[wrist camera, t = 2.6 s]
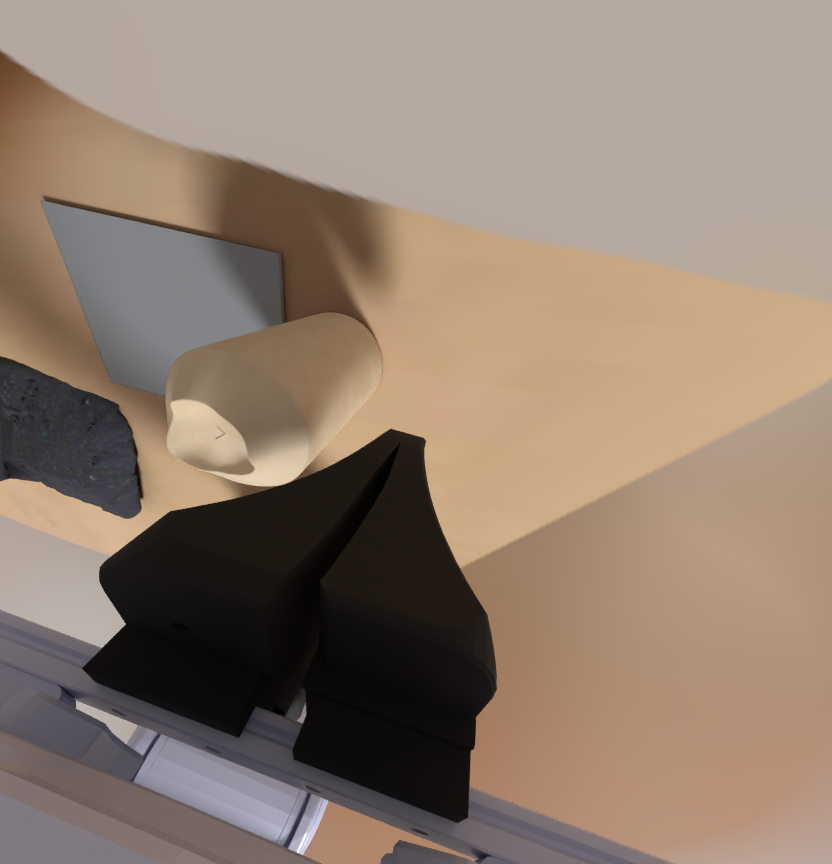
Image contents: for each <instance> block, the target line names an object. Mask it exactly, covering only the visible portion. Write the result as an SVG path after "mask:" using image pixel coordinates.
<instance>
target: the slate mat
mask: <svg viewBox="0 0 832 864" xmlns="http://www.w3.org/2000/svg"><path fill="white" fill-rule="evenodd" d="M40 201H41V204H42V207H43V209H44V212H45V214H46V217H47V219H48V222H49V224H50V227H51V230H52V232H53V235H54V237H55V240H56V242H57V245H58V247H59V250H60V253H61V255H62V258H63V260H64V263H65V265H66V268H67V271H68V273H69V276H70V278H71V281H72V283H73V286H74V288H75V291H76V294H77V296H78V299H79V301H80V304H81V306H82V309H83V311H84V314H85V317H86V319H87V322H88V324H89V327H90V329H91V332H92V335H93V337H94V340H95V342H96V345H97V347H98V350H99V352H100V355H101V358H102V360H103V363H104V365H105V368H106V370H107V373H108V375H109V378H110V381H111V382H113V383H117V384H120V385H124V386H127V387H131V388H135V389H138V390H142V391H145V392H149V393H152V394H156V395H160V396H163V397H166V385H167V379H168V374H169V371H170V368H171V366H172V365H173V363H174V362H175V360H176V359H177V358H178V357H179V356H181V355H182V354H184V353H185V352H187V351H189V350H192V349H195V348H198V347H202V346H205V345H209V344H212V343H216V342H219V341H223V340H226V339H230V338H233V337H237V336H241V335H244V334H248V333H251V332H255V331H258V330H262V329H265V328H269V327H273V326H276V325H280V324H283V323H285V310H284V291H283V272H282V253H277V252H273V251H268V250H264V249H259V248H255V247H250V246H246V245H241V244H237V243H232V242H228V241H223V240H219V239H214V238H210V237H205V236H201V235H196V234H192V233H187V232H183V231H178V230H174V229H169V228H165V227H160V226H156V225H151V224H147V223H142V222H138V221H133V220H129V219H124V218H120V217H115V216H111V215H106V214H102V213H97V212H93V211H88V210H84V209H79V208H75V207H70V206H66V205H62V204H57V203H53V202H48V201H42V200H40Z"/></svg>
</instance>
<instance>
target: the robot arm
mask: <svg viewBox="0 0 832 864" xmlns="http://www.w3.org/2000/svg"><path fill="white" fill-rule="evenodd" d="M425 443H426V441H425V439H424V438H422V437H418V436H415V435H411V434H407V433H404V432H400V431H396V430H393V429H390V430H388V431H386V432H385V433H383V434H382V435H381V436H379V437H378V438H376V439H375V440H373V441H372V442H370V443H369V444H367V445H366V446H364V447H363V448H361V449H359V450H358V451H356V452H355V453H353V454H351V455H349V456H348V457H346V458H344V459H342V460H340V461H339V462H337V463H335V464H333V465H331V466H329V467H327V468H325V469H323V470H321V471H318V472H316V473H314V474H311V475H309V476H306V477H304V478H301V479H298V480H296V481H293V482H290V483H287V484H284V485H281V486H278V487H275V488H272V489H269V490H265V491H262V492H258V493H255V494H251V495H247V496H243V497H239V498H235V499H231V500H227V501H222V502H217V503H212V504H207V505H202V506H197V507H192V508H186V509H181V510H175V511H170V512H169V513H167V514H166V515H165V516H163V517H162V518H161V519H159V520H158V521H157V522H155V523H154V524H153V525H151V526H150V527H149V528H148V529H146V530H145V531H144V532H142V533H141V534H140V535H138V536H137V537H136V538H135V539H133V540H132V541H131V542H129V543H128V544H127V545H125V546H124V547H123V548H122V549H120V550H119V551H118V552H116V553H115V554H114V555H112V556H111V557H110V558H109V559H107V560H106V561H105V562H104V563H103V564H102V566H101V567H100V571H99V580H100V584H101V586H102V588H103V589H104V591H105V593H106V594H107V596H108V598H109V599H110V601H111V602H112V603H113V605H114V606H115V608H116V610H117V611H118V613H119V614H120V615H121V617H122V619H123V620H124V622H125V623H126V625H125V626H124V627H123V628H122V629H121V630H120V631H119V632H118V633H117V634H116V635H115V636H114V637H113V638H112V639H111V640H110V641H109V642H108V643H107V644H106V645H105V646H104V647H103V648H100V647H97V646H95V645H92V644H89V643H87V642H84V641H82V640H79V639H76V638H74V637H71V636H68V635H65V634H63V633H60V632H58V631H55V630H52V629H50V628H47V627H44V626H41V625H39V624H36V623H34V622H31V621H28V620H26V619H23V618H20V617H18V616H15V615H12V614H10V613H7V612H4V611H2V610H0V864H321V863H319V862H317V861H315V860H312V859H310V858H308V857H305V856H303V854H304V852H305V850H306V848H307V847H308V845H309V843H310V842H311V840H312V838H313V836H314V834H315V832H316V830H317V828H318V825H319V823H320V821H321V818H322V816H323V813H324V811H325V808H326V806H327V803H328V801H331V802H333V803H336V804H338V805H341V806H344V807H346V808H349V809H351V810H354V811H356V812H359V813H361V814H364V815H366V816H369V817H371V818H374V819H376V820H379V821H381V822H384V823H386V824H389V825H391V826H394V827H396V828H399V829H402V830H404V831H406V832H409V833H412V834H414V835H416V836H419V837H421V838H424V839H427V840H429V841H432V842H434V843H437V844H439V845H442V846H444V847H447V848H449V849H452V850H454V851H457V852H459V853H462V854H464V855H467V856H469V857H472V858H474V859H477V860H476V861H472V860H469V859H466V858H463V857H460V856H456V855H453V854H449V853H445V852H442V851H438V850H434V849H431V848H427V847H423V846H420V845H416V844H412V843H408V842H405V841H401V840H399V842H397V843H396V845H395V846H394V849H393V853H388V854H385V855H384V856H383V858H382V859H381V864H674V863H671V862H669V861H666V860H664V859H661V858H658V857H656V856H653V855H651V854H648V853H645V852H643V851H639V850H637V849H635V848H632V847H629V846H626V845H624V844H621V843H619V842H616V841H613V840H611V839H608V838H605V837H603V836H600V835H597V834H595V833H592V832H589V831H587V830H584V829H581V828H579V827H576V826H573V825H571V824H568V823H565V822H563V821H560V820H557V819H555V818H552V817H549V816H547V815H544V814H542V813H539V812H536V811H533V810H530V809H528V808H526V807H523V806H520V805H517V804H515V803H512V802H510V801H507V800H504V799H502V798H499V797H496V796H493V795H491V794H488V793H486V792H483V791H480V790H478V789H475V788H472V787H470V786H469V781H470V753H471V750H473V749H474V746H475V733H476V717H477V715H478V714H479V713H480V712H481V711H482V710H483V708H484V707H485V706H486V705H487V704H488V703H489V701H490V700H491V699H492V698H493V696H494V694H495V692H496V690H497V688H496V687H497V685H496V678H497V675H496V663H495V655H494V648H493V642H492V636H491V630H490V626H489V621H488V616H487V613H486V612H485V610H484V609H483V607H482V605H481V604H480V602H479V601H478V599H477V597H476V596H475V594H474V592H473V591H472V589H471V587H470V586H469V584H468V582H467V581H466V579H465V577H464V575H463V573H462V572H461V569H460V568H459V566H458V564H457V562H456V560H455V558H454V556H453V554H452V551H451V549H450V547H449V545H448V543H447V541H446V538H445V536H444V534H443V532H442V529H441V527H440V524H439V521H438V519H437V516H436V513H435V510H434V507H433V503H432V500H431V496H430V492H429V487H428V483H427V477H426V470H425V461H424V447H425ZM75 700H77V701H79V702H82V703H84V704H87V705H89V706H92V707H94V708H97V709H99V710H102V711H104V712H107V713H109V714H112V715H114V716H117V717H120V718H122V719H124V720H127V721H129V722H132V723H135V724H137V725H138V727H137V728H136V730H135V731H134V733H133V735H132V736H131V738H130V739H129V741H128V743H127V744H125V743H124V742H122V741H121V740H120V739H119V738H117V737H116V736H115V735H114V734H113V733H112V732H111V731H110V730H109V728H108V727H107V726H106V724H105V723H103V722H101V721H99V720H97V719H95V718H93V717H91V716H89V715H87V714H85V713H83V712H81V711H79V710H77V709H75V708H76V701H75Z"/></svg>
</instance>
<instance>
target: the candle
mask: <svg viewBox="0 0 832 864" xmlns="http://www.w3.org/2000/svg"><path fill="white" fill-rule="evenodd" d="M382 371H383V361H382V355H381V351H380V348H379V345H378V343H377V341H376V340H375V338H374V336H373V335H372V334H371V332H370V331H369V330H368V329H367V328H366V327H365V326H364V325H363V324H362V323H360V322H359V321H358V320H356V319H354V318H353V317H350V316H348V315H345V314H342V313H335V312H325V313H320V314H316V315H312V316H308V317H304V318H301V319H297V320H294V321H290V322H287V323H283V324H280V325H276V326H273V327H269V328H265V329H262V330H258V331H255V332H251V333H248V334H244V335H241V336H237V337H233V338H230V339H226V340H223V341H219V342H216V343H212V344H209V345H205V346H202V347H198V348H195V349H192V350H189V351H187V352H185V353H184V354H182V355H181V356H179V357H178V358H177V359H176V360H175V362H174V363H173V365H172V366H171V368H170V371H169V374H168V379H167V385H166V412H167V426H168V429H167V441H166V442H167V448H168V450H169V452H170V453H171V454H172V455H173V456H174V457H175V458H177V459H178V460H180V461H181V462H183V463H185V464H187V465H189V466H191V467H193V468H195V469H198V470H201V471H204V472H210V473H213V474H216V475H218V476H221V477H224V478H226V479H229V480H231V481H235V482H238V483H242V484H247V485H254V486H279V485H283V484H286V483H288V482H291V481H293V480H294V479H295V478H297V477H298V476H299V475H300V474H301V473H302V472H303V470H304V469H305V468H306V467H307V466H308V465H309V464H310V463H311V462H312V461H313V459H314V458H315V457H316V456H317V455H318V454H319V453H320V452H321V451H322V449H323V448H324V447H325V446H326V445H327V444H328V443H329V442H330V441H331V439H332V438H333V437H334V436H335V435H336V434H337V433H338V432H339V431H340V429H341V428H342V427H343V426H344V425H345V424H346V423H347V422H348V421H349V419H350V418H351V417H352V416H353V415H354V414H355V413H356V412H357V411H358V409H359V408H360V407H361V406H362V405H363V404H364V403H365V402H366V401H367V399H368V398H369V397H370V396H371V395H372V394H373V392H374V391H375V390H376V388H377V386H378V384H379V382H380V379H381V376H382Z"/></svg>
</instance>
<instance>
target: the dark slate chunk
mask: <svg viewBox="0 0 832 864" xmlns="http://www.w3.org/2000/svg"><path fill="white" fill-rule="evenodd" d="M132 435H133V433H132V429H131V428H130V427H129V425H128V423H127V420H126V418H125V417H124V416H123V415H122V413H121V412H120V411H119V405H118V404H116V403H114V402H112V401H110V400H108V399H104V398H102V397H100V396H98V395H96V394H93V393H90V392H86V391H83V390H80V389H77V388H74V387H72V386H71V385H69V384H68V383H65V382H62V381H60V380H58V379H56V378H54V377H51V376H48V375H46V374H44V373H42V372H40V371H38V370H35V369H33V368H30V367H28V366H26V365H24V364H21V363H18V362H16V361H14V360H11V359H7V358H4V357H3V358H2V357H1V356H0V481H3V480H6V479H10V478H12V479H20V480H29V481H35V482H42V483H43V484H44V485H46V486H47V487H50V488H54V489H56V490H57V491H58V492H60V493H62V494H63V495H66V496H70V497H73V498H76V499H79V500H81V501H83V502H86V503H90V504H93V505H96V506H99V507H101V508H102V509H103V510H104V511H107V512H110V513H112V514H114V515H117V516H120V517H122V518H126V519H129V518H133V517H134V516H136V515H137V514H138V513H139V512H140V511H141V502H140V497H139V487H138V484H137V480H138V478H137V476H136V472H135V465H136V462H137V458H136V453H135V449H134V442H133V437H132Z"/></svg>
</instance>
